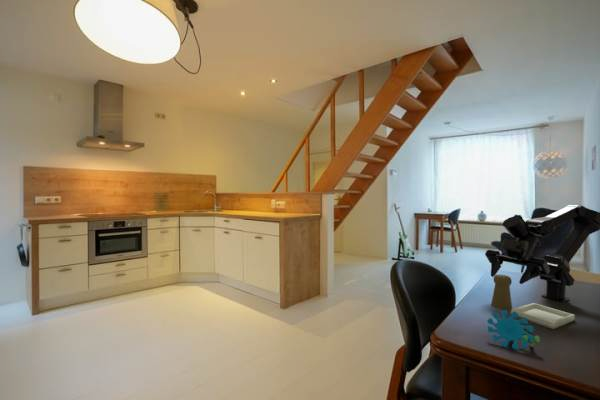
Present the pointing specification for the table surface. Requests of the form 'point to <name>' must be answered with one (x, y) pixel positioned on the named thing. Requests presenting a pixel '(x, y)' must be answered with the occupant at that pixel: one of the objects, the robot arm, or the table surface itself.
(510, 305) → the cork
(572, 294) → the table surface
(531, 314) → the tray
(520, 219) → the robot arm
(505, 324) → the gear
